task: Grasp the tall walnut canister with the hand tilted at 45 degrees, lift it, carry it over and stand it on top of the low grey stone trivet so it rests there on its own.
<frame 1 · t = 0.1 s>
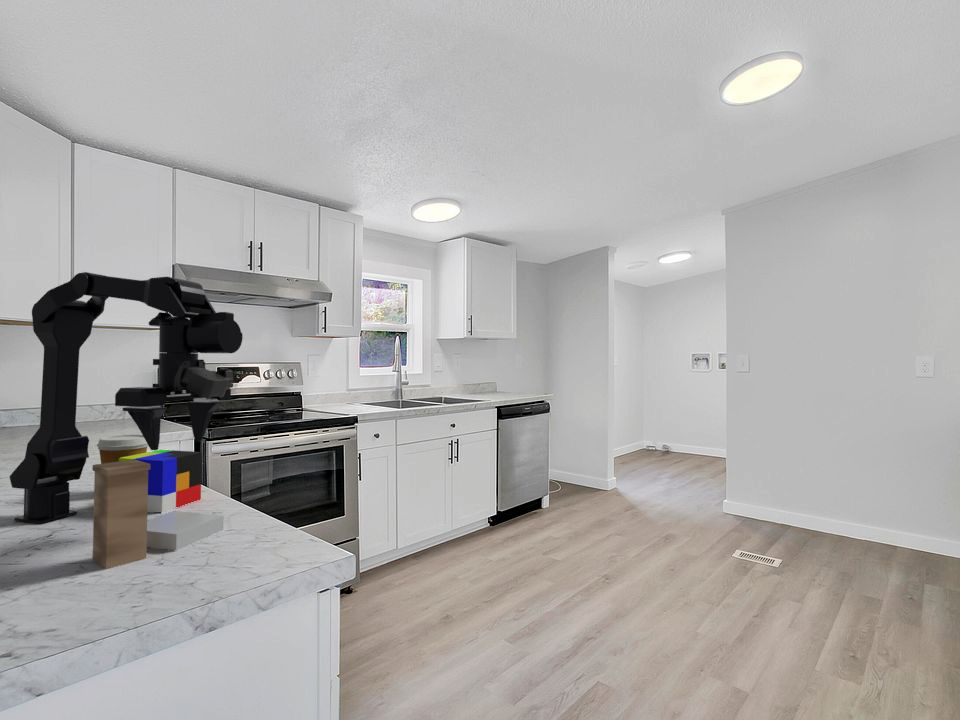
hand: (177, 445, 86), 15 cm above the counter, tool pointing down, fingers open, 9 cm apart
puzzle toy: (160, 505, 103), on the counter
disposable coffee cup: (122, 493, 111), on the counter
stone trivet: (175, 539, 84), on the counter
walnut canister: (119, 559, 74), on the counter
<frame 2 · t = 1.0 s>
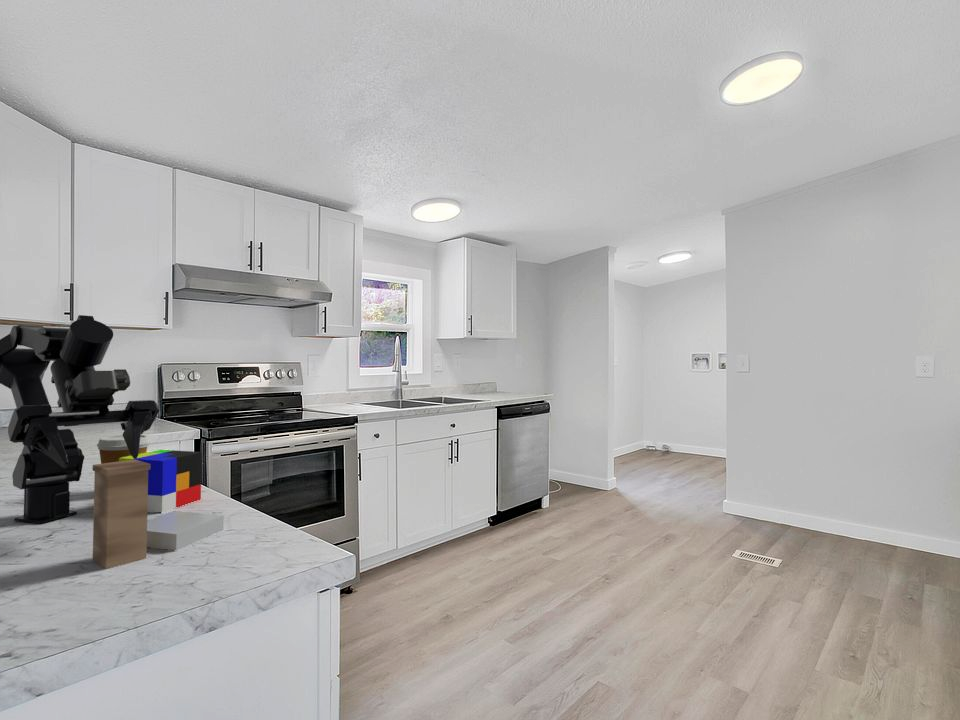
hand: (102, 461, 79), 13 cm above the counter, tool tilted 45°, fingers open, 9 cm apart
nothing on the counter moved.
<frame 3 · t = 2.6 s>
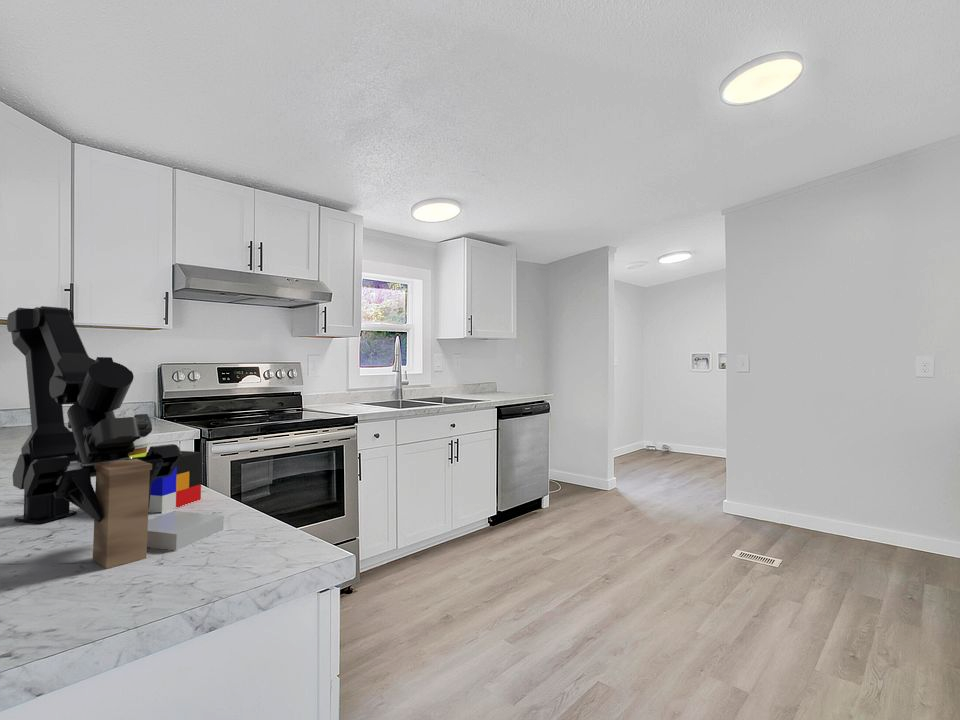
hand: (124, 515, 74), 7 cm above the counter, tool tilted 45°, fingers open, 5 cm apart
nothing on the counter moved.
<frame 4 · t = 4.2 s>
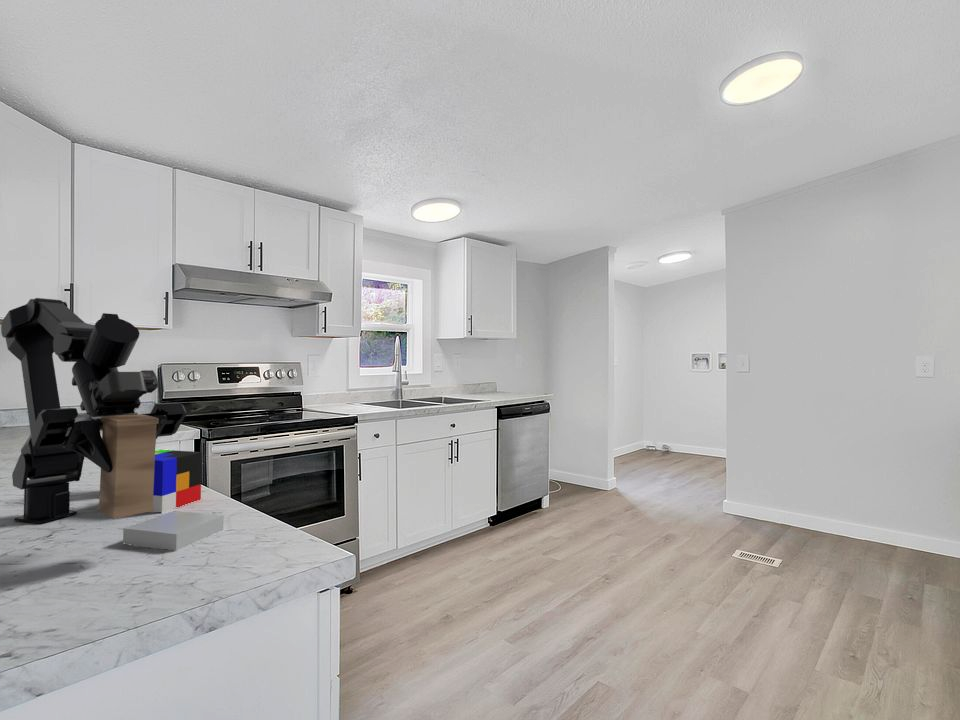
hand: (131, 467, 75), 13 cm above the counter, tool tilted 45°, fingers closed on walnut canister, 5 cm apart
walnut canister: (125, 510, 75), point 7 cm above the counter, touching gripper
everything else where it was.
when the fingers open (10 cm above the counter, at t = 5.8 s): walnut canister drops 1 cm, resting on stone trivet.
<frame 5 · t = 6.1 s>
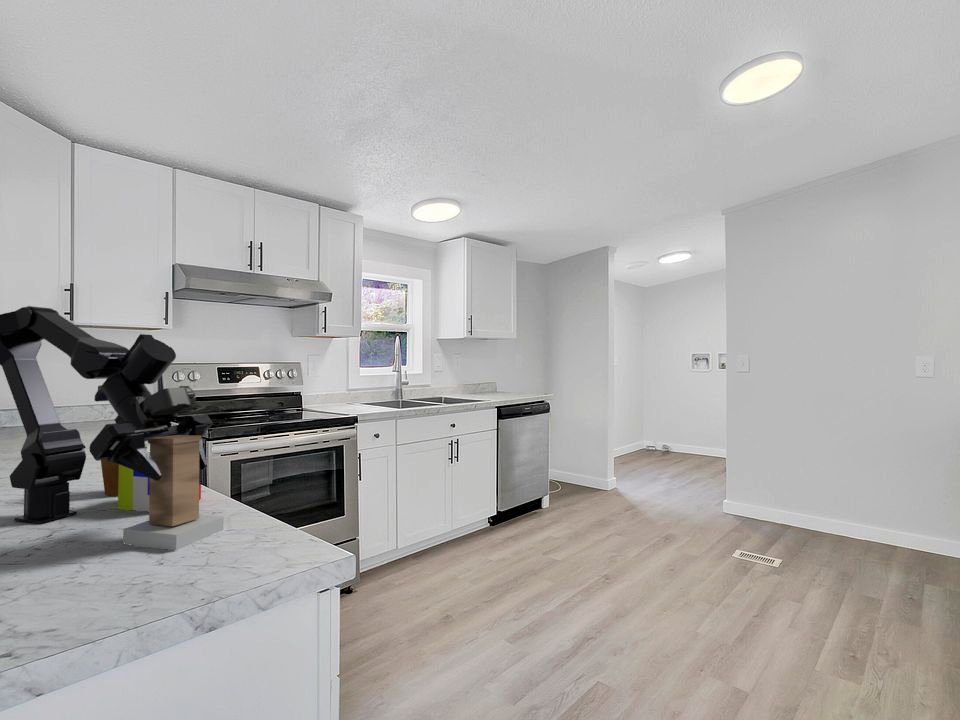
hand: (183, 473, 84), 11 cm above the counter, tool tilted 45°, fingers open, 8 cm apart
stone trivet: (175, 540, 84), on the counter, touching walnut canister
walnut canister: (174, 521, 84), point 3 cm above the counter, touching gripper, stone trivet
everything else where it was.
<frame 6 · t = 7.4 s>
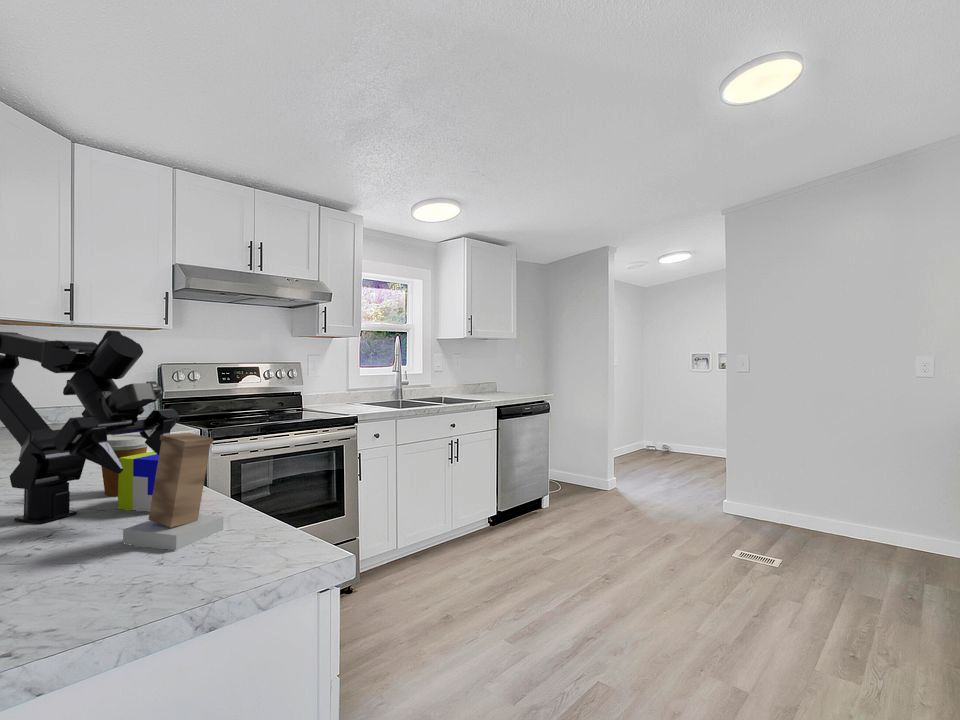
hand: (147, 466, 86), 11 cm above the counter, tool tilted 45°, fingers open, 9 cm apart
walnut canister: (173, 520, 84), point 3 cm above the counter, tilted 8°, touching stone trivet
everything else where it was.
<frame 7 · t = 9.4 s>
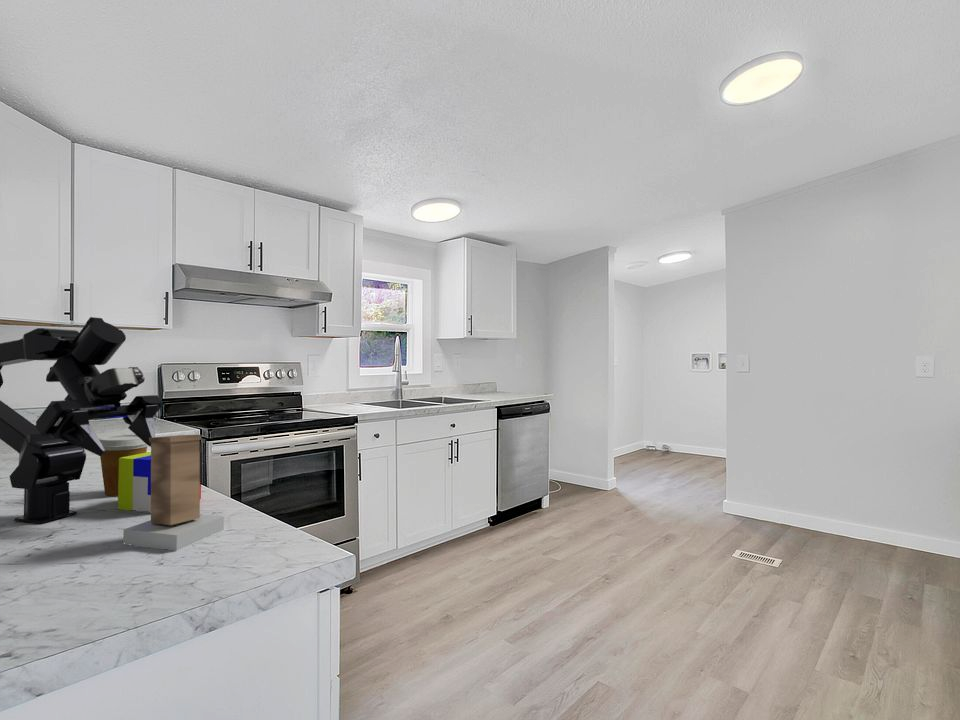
hand: (129, 449, 88), 14 cm above the counter, tool tilted 45°, fingers open, 9 cm apart
at the end: walnut canister inside the target area on the stone trivet (0.2 cm from its centre), point 3.3 cm above the stone trivet's base; walnut canister tilted 6°; walnut canister touching stone trivet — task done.
